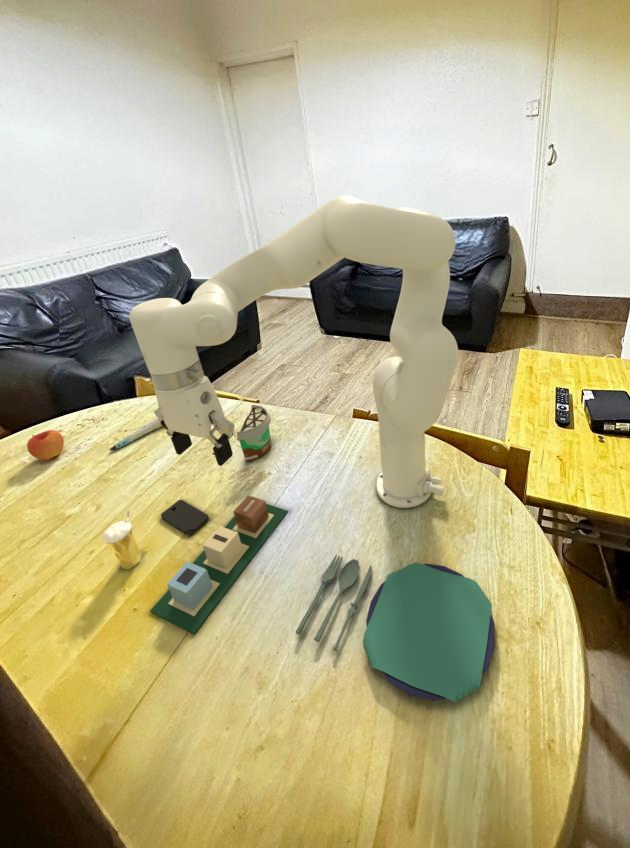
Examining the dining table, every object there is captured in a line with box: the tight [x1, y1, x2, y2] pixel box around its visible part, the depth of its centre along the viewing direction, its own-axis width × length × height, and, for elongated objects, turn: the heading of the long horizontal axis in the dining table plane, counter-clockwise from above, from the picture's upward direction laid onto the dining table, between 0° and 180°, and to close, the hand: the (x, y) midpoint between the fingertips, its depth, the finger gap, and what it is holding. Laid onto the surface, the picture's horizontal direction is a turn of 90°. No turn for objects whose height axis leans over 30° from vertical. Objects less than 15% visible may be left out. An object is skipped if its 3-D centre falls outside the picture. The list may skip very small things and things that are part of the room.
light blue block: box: [166, 561, 212, 610], centre depth 71 cm, size 4×4×5 cm
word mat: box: [149, 503, 289, 635], centre depth 79 cm, size 10×26×1 cm, turn 157°
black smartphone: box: [160, 499, 210, 537], centre depth 88 cm, size 5×1×10 cm
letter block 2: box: [232, 494, 269, 533], centre depth 84 cm, size 4×4×5 cm
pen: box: [108, 417, 163, 452], centre depth 116 cm, size 19×3×3 cm, turn 144°
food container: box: [236, 404, 272, 463], centre depth 105 cm, size 12×6×10 cm, turn 179°
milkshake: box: [102, 510, 142, 570], centre depth 77 cm, size 5×5×10 cm
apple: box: [26, 429, 65, 461], centre depth 108 cm, size 7×7×8 cm
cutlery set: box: [295, 554, 496, 703], centre depth 66 cm, size 20×30×2 cm, turn 69°
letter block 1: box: [202, 525, 243, 569], centre depth 78 cm, size 4×4×5 cm
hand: (204, 454), depth 75 cm, fingers open, 9 cm apart
